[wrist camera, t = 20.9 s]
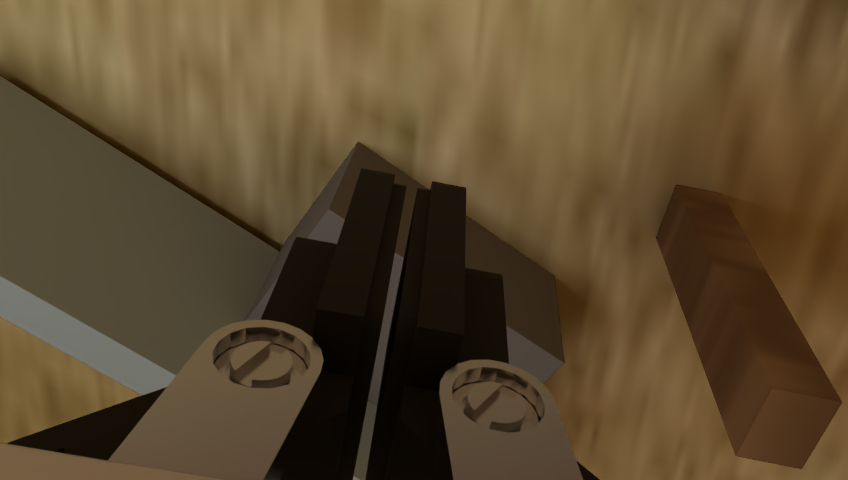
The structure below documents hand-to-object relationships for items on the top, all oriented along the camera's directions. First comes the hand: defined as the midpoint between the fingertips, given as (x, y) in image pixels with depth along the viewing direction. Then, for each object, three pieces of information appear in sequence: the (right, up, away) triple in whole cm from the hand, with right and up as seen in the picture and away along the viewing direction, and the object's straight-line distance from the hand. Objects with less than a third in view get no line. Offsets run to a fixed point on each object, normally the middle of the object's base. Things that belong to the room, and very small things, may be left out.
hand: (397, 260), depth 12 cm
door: (-6, -1, +20) cm, 21 cm away
